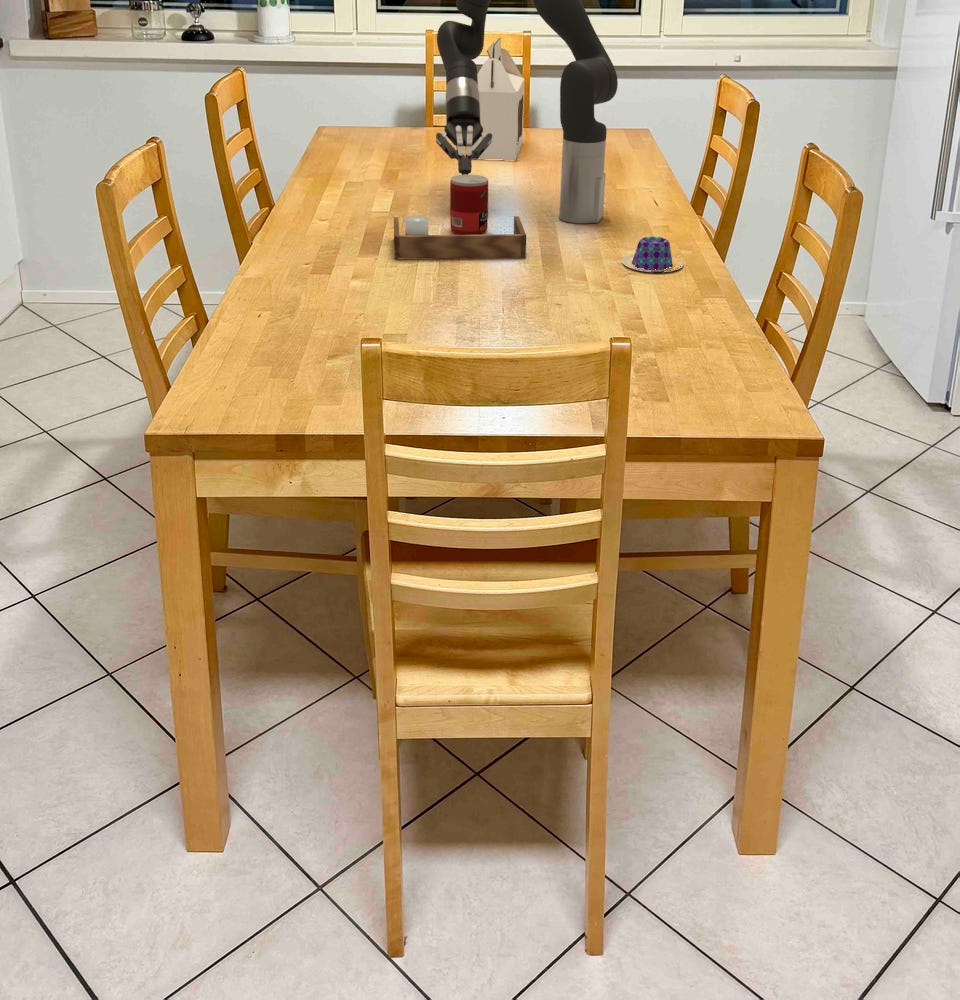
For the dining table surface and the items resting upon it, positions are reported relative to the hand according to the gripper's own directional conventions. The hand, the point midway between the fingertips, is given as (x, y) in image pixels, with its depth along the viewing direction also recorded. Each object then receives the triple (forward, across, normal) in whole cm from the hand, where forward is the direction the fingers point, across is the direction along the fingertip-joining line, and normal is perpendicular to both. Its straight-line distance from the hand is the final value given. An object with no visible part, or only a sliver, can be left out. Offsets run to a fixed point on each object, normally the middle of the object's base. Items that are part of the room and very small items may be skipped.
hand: (465, 173), depth 249 cm
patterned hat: (+31, +35, -18) cm, 50 cm away
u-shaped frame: (+22, -3, -10) cm, 25 cm away
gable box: (-38, +12, +53) cm, 66 cm away
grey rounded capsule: (+25, -11, -12) cm, 30 cm away
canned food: (+14, 0, -1) cm, 14 cm away
